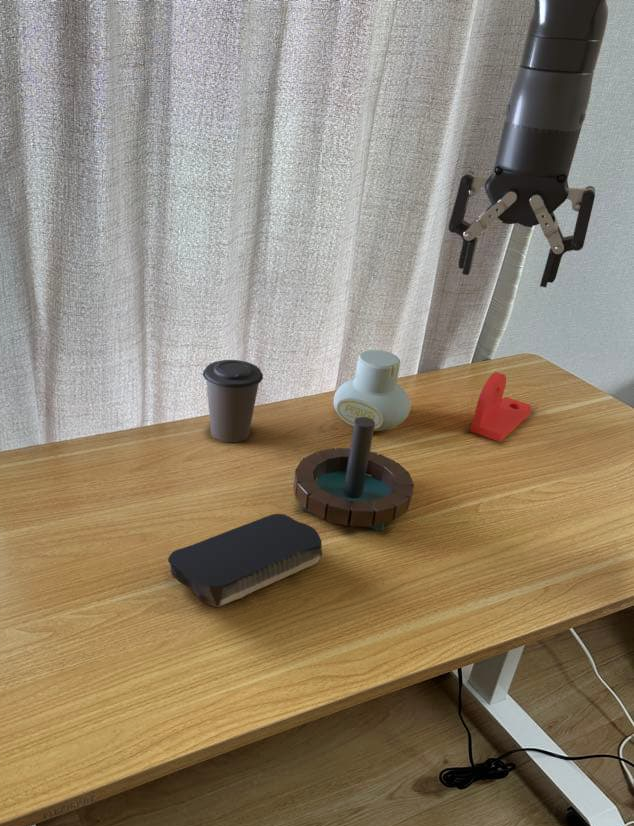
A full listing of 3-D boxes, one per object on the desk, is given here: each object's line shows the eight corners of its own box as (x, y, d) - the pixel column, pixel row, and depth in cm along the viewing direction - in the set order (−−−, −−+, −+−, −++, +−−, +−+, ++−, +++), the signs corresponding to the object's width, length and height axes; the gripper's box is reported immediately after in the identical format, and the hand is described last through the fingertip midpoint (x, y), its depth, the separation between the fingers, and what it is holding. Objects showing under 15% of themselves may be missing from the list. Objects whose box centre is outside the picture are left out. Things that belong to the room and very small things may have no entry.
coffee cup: (241, 453, 108) (245, 385, 102) (190, 436, 112) (191, 369, 106) (269, 429, 114) (274, 363, 108) (219, 413, 117) (222, 349, 111)
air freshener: (322, 421, 117) (330, 356, 111) (347, 400, 122) (357, 338, 116) (391, 444, 112) (403, 378, 106) (414, 422, 118) (427, 358, 112)
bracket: (499, 441, 114) (514, 391, 110) (470, 431, 116) (483, 380, 112) (532, 412, 122) (546, 364, 117) (503, 403, 124) (517, 355, 119)
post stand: (399, 489, 103) (415, 412, 96) (382, 531, 96) (397, 451, 89) (324, 471, 106) (335, 395, 99) (301, 510, 98) (311, 431, 92)
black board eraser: (207, 621, 82) (208, 593, 79) (162, 576, 87) (162, 549, 85) (327, 567, 90) (331, 540, 87) (280, 529, 95) (283, 503, 93)
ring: (419, 477, 104) (423, 463, 102) (396, 538, 93) (400, 523, 91) (312, 452, 108) (314, 438, 106) (278, 508, 97) (280, 493, 95)
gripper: (618, 121, 82) (571, 279, 92) (477, 107, 86) (446, 259, 96) (618, 133, 77) (568, 300, 86) (467, 117, 81) (435, 278, 90)
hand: (504, 278), depth 91 cm, fingers open, 8 cm apart
